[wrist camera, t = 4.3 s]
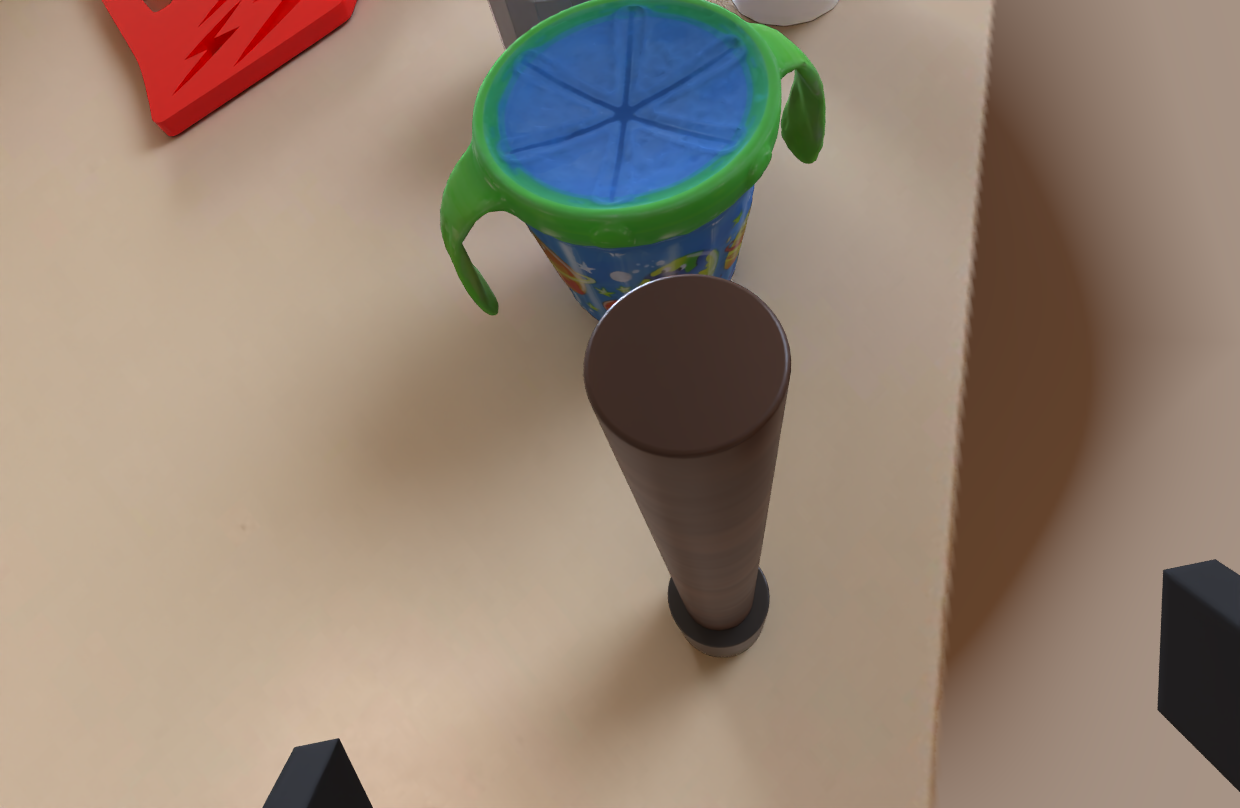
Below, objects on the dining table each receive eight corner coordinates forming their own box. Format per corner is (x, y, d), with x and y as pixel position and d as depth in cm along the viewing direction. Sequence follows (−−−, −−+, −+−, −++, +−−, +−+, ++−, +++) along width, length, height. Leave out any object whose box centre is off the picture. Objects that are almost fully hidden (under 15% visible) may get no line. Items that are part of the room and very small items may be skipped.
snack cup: (763, 136, 34) (773, -76, 25) (863, 298, 30) (921, 113, 20) (471, 246, 34) (374, 76, 25) (526, 427, 30) (433, 298, 20)
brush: (763, 568, 26) (830, 226, 8) (765, 659, 24) (856, 507, 6) (677, 566, 26) (551, 242, 8) (676, 655, 25) (520, 504, 7)
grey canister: (664, 10, 39) (651, -124, 33) (660, 117, 36) (644, -11, 29) (526, 25, 40) (487, -102, 34) (510, 129, 37) (464, 10, 31)
